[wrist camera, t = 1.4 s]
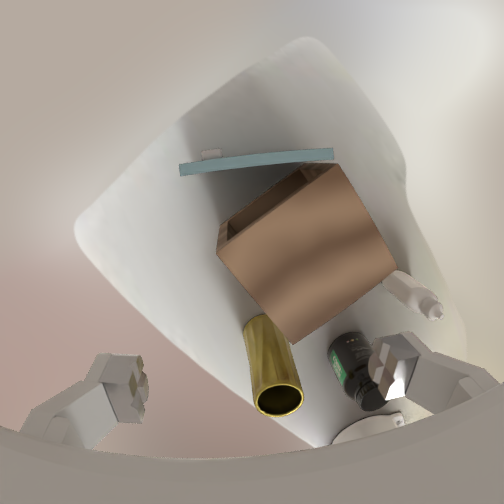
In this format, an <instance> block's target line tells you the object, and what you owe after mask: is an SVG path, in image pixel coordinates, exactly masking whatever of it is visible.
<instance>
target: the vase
mask: <svg viewBox="0 0 504 504" xmlns="http://www.w3.org/2000/svg"><path fill="white" fill-rule="evenodd" d="M243 337H244V340H245V345H246V351H247V355H248V360H249V364H250V374H251V382H252V392H253V401H254V405H255V407H256V409H257V410H258V411H259V412H260V413H261V414H263V415H266V416H269V417H283V416H286V415H289V414H291V413H293V412H295V411H296V410H297V409H298V408H299V407H300V406H301V405H302V403H303V401H304V394H303V390H302V387H301V383H300V380H299V376H298V373H297V370H296V366H295V363H294V360H293V356H292V353H291V349H290V344H289V340H288V339H287V338H286V337H285V335H284V334H283V333H282V332H281V331H280V330H279V328H278V327H277V326H276V325H275V324H274V323H273V321H272V320H271V319H270V318H269V317H268V315H267V314H264V315H259V316H256V317H254V318H253V319H251V320H250V321H249V322H248V323H247V324H246V326H245V328H244V332H243Z"/></svg>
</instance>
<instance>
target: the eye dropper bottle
mask: <svg viewBox="0 0 504 504" xmlns="http://www.w3.org/2000/svg"><path fill="white" fill-rule="evenodd" d="M382 285H383V286H384V287H385V288H386V289H387V290H388V291H389V292H390V293H392V294H393V295H394V296H395V297H396V298H397V299H398V300H400V301H401V302H402V303H403V304H404V305H405V306H406V307H408V308H409V309H410V310H412V311H413V312H416V313H419V314H424V315H425V316H426V317H427V318H428V319H429V320H431V321H434V320H436V319H440V320H442V319H443V318H444V315H443V313H442V311H443V306H442V304H441V303H439V302H438V298H437V296H436V295H435V294H434V293H433V292H432V291H431V290H429V289H428V288H427V287H425V286H424V285H422V284H421V283H420V282H418V281H417V280H415V279H414V278H412V277H411V276H410V275H408V274H407V273H405V272H403V271H399V270H395V271H394V272H392V273H391V274H390V275H389V276H387V277H386V278H385V279H384V280H383V281H382Z"/></svg>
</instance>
